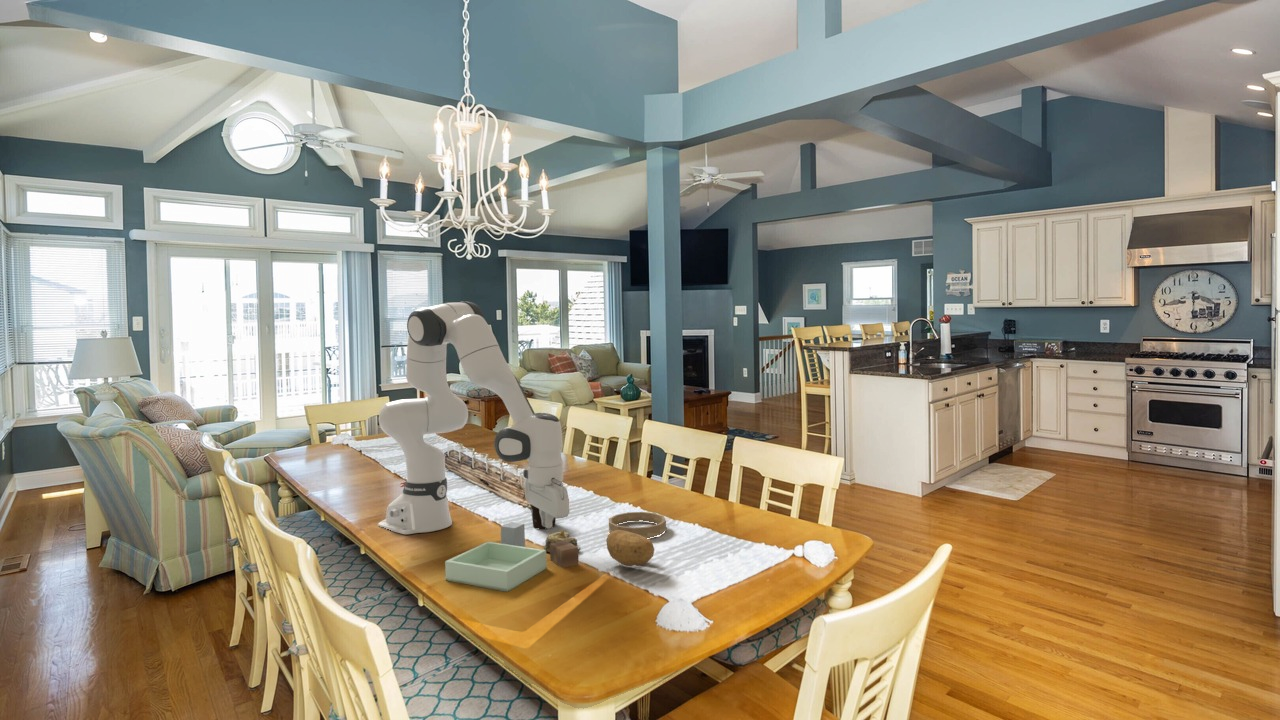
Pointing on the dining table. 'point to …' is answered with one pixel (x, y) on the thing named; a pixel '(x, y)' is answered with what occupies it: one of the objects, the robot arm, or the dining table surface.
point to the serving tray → (496, 566)
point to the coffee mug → (538, 518)
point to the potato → (629, 548)
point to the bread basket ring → (637, 516)
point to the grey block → (513, 534)
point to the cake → (559, 539)
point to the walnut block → (564, 554)
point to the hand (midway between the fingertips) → (547, 526)
